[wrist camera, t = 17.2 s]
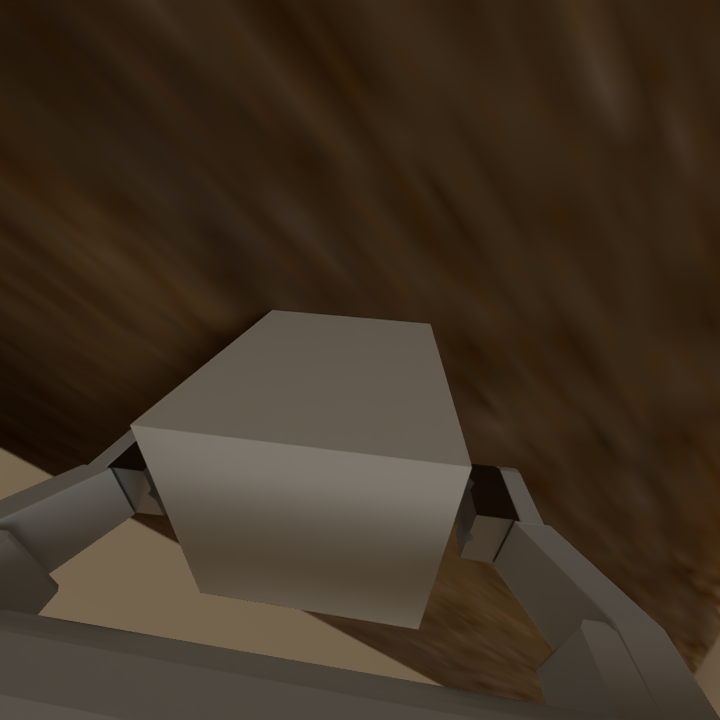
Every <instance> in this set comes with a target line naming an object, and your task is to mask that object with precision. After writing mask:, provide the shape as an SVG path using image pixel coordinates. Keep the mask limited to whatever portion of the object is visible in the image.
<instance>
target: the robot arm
mask: <svg viewBox="0 0 720 720" xmlns="http://www.w3.org/2000/svg"><path fill="white" fill-rule="evenodd" d="M471 466H472V469H471V472H470V475H469V478H468V481H467V484H466V487H465V490H464V493H463V496H462V499H461V502H460V505H459V508H458V511H457V514H456V517H455V520H456V521H457V523H458V526H457V529H456V532H455V533H456V539H457V544H458V549H459V555H460V558H465V559H471V560H477V561H482V562H488V563H494V564H493V566H494V567H495V569H496V570H497V572H498V573H499V574H500V576H501V577H502V579H503V580H504V582H505V583H506V584H507V586H508V587H509V589H510V590H511V592H512V593H513V594H514V596H515V597H516V599H517V600H518V601H519V603H520V604H521V606H522V607H523V609H524V610H525V611H526V613H527V614H528V616H529V617H530V619H531V620H532V621H533V623H534V624H535V626H536V627H537V628H538V630H539V631H540V633H541V634H542V636H543V637H544V638H545V640H546V641H547V643H548V644H549V646H550V647H551V648H552V650H553V652H552V653H551V654H550V655H549V656H548V657H547V658H546V660H545V661H544V662H543V663H542V664H541V665H540V666H539V668H538V670H537V671H536V672H537V675H538V679H539V682H540V686H541V689H542V693H543V696H544V699H545V703H546V705H545V704H539V703H533V702H528V701H522V700H516V699H511V698H505V697H499V696H494V695H488V694H482V693H477V692H471V691H465V690H460V689H454V688H448V687H443V686H436V685H431V684H426V683H419V682H414V681H409V680H403V679H397V678H391V677H386V676H380V675H374V674H369V673H363V672H357V671H352V670H346V669H340V668H335V667H329V666H323V665H318V664H312V663H306V662H301V661H295V660H289V659H284V658H278V657H272V656H267V655H261V654H255V653H250V652H244V651H238V650H233V649H227V648H221V647H215V646H210V645H204V644H198V643H193V642H187V641H182V640H176V639H170V638H164V637H159V636H153V635H148V634H141V633H136V632H131V631H124V630H119V629H114V628H107V627H102V626H97V625H91V624H85V623H80V622H74V621H68V620H62V619H57V618H51V617H45V616H39V615H38V614H39V613H40V611H41V610H42V609H43V608H44V607H45V606H46V604H47V603H48V602H49V601H50V600H51V599H52V597H53V596H54V595H55V594H56V593H57V592H58V584H57V583H56V582H55V581H54V580H53V579H52V577H51V576H50V575H49V573H51V572H52V571H53V570H55V569H57V568H58V567H59V566H61V565H62V564H64V563H65V562H67V561H68V560H69V559H71V558H72V557H74V556H75V555H76V554H78V553H80V552H81V551H82V550H84V549H85V548H87V547H88V546H89V545H91V544H92V543H94V542H95V541H96V540H98V539H100V538H101V537H102V536H104V535H105V534H107V533H108V532H110V531H111V530H113V529H114V528H115V527H117V526H118V525H120V524H121V523H122V522H124V521H125V520H127V519H128V518H130V517H131V516H133V515H134V514H135V513H134V512H137V513H146V514H155V515H164V514H165V512H166V510H165V507H164V505H163V502H162V500H161V498H160V495H159V493H158V491H157V488H156V486H155V483H154V481H153V479H152V476H151V474H150V471H149V469H148V467H147V464H146V462H145V460H144V457H143V455H142V452H141V450H140V448H139V445H138V443H137V441H136V438H135V436H134V433H133V431H132V429H131V430H129V431H128V432H127V433H126V434H125V435H123V436H122V437H121V438H120V439H119V440H117V441H116V442H115V443H114V444H113V445H111V446H110V447H109V448H108V449H107V450H105V451H104V452H103V453H102V454H101V455H99V456H98V457H97V458H96V459H95V460H93V461H92V462H91V463H90V464H89V465H81V466H78V467H76V468H74V469H72V470H69V471H67V472H65V473H62V474H60V475H58V476H55V477H53V478H51V479H49V480H46V481H44V482H42V483H39V484H37V485H35V486H32V487H30V488H28V489H25V490H23V491H21V492H18V493H16V494H14V495H12V496H9V497H7V498H5V499H3V500H0V720H720V718H719V716H718V715H717V713H716V711H715V710H714V708H713V707H712V705H711V704H710V702H709V700H708V699H707V697H706V696H705V694H704V693H703V691H702V689H701V688H700V686H699V685H698V683H697V681H696V680H695V678H694V677H693V675H692V673H691V672H690V670H689V669H688V667H687V665H686V664H685V662H684V661H683V659H682V658H681V656H680V654H679V653H678V651H677V650H676V648H675V646H674V645H673V643H672V642H671V640H670V638H669V637H668V635H667V634H666V632H665V631H664V629H663V628H661V627H660V626H659V625H658V624H657V623H656V622H655V621H654V620H653V619H652V618H650V617H649V616H648V615H647V614H646V613H645V612H644V611H643V610H642V609H641V608H640V607H638V606H637V605H636V604H635V603H634V602H633V601H632V600H631V599H630V598H629V597H627V596H626V595H625V594H624V593H623V592H622V591H621V590H620V589H619V588H618V587H617V586H615V585H614V584H613V583H612V582H611V581H610V580H609V579H608V578H607V577H606V576H604V575H603V574H602V573H601V572H600V571H599V570H598V569H597V568H596V567H595V566H593V565H592V564H591V563H590V562H589V561H588V560H587V559H586V558H585V557H584V556H583V555H581V554H580V553H579V552H578V551H577V550H576V549H575V548H574V547H573V546H572V545H570V544H569V543H568V542H567V541H566V540H565V539H564V538H563V537H562V536H561V535H560V534H558V533H557V532H556V531H555V530H554V529H553V528H552V527H551V526H547V525H544V524H543V522H542V520H541V518H540V515H539V513H538V511H537V509H536V507H535V505H534V503H533V501H532V499H531V496H530V494H529V492H528V490H527V488H526V486H525V484H524V482H523V479H522V477H521V475H520V473H519V471H518V470H516V469H515V468H505V467H495V466H488V465H479V464H471Z"/></svg>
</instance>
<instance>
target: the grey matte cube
mask: <svg viewBox="0 0 720 720" xmlns="http://www.w3.org/2000/svg"><path fill="white" fill-rule="evenodd" d="M130 426H131V429H132V431H133V433H134V436H135V438H136V441H137V443H138V445H139V448H140V450H141V452H142V455H143V457H144V460H145V462H146V464H147V467H148V469H149V471H150V474H151V476H152V479H153V481H154V483H155V486H156V488H157V491H158V493H159V495H160V498H161V500H162V502H163V505H164V507H165V510H166V512H167V514H168V517H169V519H170V522H171V524H172V526H173V529H174V531H175V533H176V536H177V538H178V541H179V543H180V545H181V548H182V550H183V553H184V555H185V557H186V560H187V562H188V564H189V567H190V569H191V571H192V574H193V576H194V578H195V581H196V584H197V586H198V588H199V591H200V593H206V594H212V595H217V596H224V597H229V598H236V599H241V600H247V601H253V602H259V603H265V604H271V605H277V606H283V607H289V608H295V609H301V610H307V611H312V612H318V613H324V614H330V615H336V616H342V617H348V618H354V619H360V620H366V621H372V622H378V623H384V624H390V625H396V626H402V627H408V628H413V629H418V628H419V625H420V622H421V619H422V616H423V613H424V610H425V607H426V604H427V601H428V598H429V595H430V592H431V589H432V586H433V583H434V580H435V577H436V574H437V571H438V568H439V565H440V562H441V559H442V556H443V553H444V550H445V547H446V544H447V541H448V538H449V535H450V532H451V529H452V526H453V523H454V520H455V517H456V514H457V511H458V508H459V505H460V502H461V499H462V496H463V493H464V490H465V487H466V484H467V481H468V478H469V475H470V472H471V469H472V466H471V462H470V459H469V455H468V452H467V449H466V445H465V442H464V438H463V435H462V431H461V428H460V425H459V421H458V418H457V414H456V411H455V407H454V404H453V401H452V397H451V394H450V390H449V387H448V383H447V380H446V377H445V373H444V370H443V366H442V363H441V359H440V356H439V353H438V349H437V346H436V342H435V339H434V335H433V332H432V329H431V325H430V324H426V323H414V322H403V321H392V320H380V319H369V318H357V317H346V316H334V315H323V314H312V313H300V312H289V311H277V310H272V311H271V312H269V313H268V314H267V315H266V316H264V317H263V318H262V319H261V320H260V321H258V322H257V323H256V324H255V325H253V326H252V327H251V328H250V329H248V330H247V331H246V332H245V333H243V334H242V335H241V336H240V337H238V338H237V339H236V340H235V341H233V342H232V343H231V344H230V345H229V346H227V347H226V348H225V349H224V350H222V351H221V352H220V353H219V354H217V355H216V356H215V357H214V358H212V359H211V360H210V361H209V362H207V363H206V364H205V365H204V366H202V367H201V368H200V369H199V370H197V371H196V372H195V373H194V374H193V375H191V376H190V377H189V378H188V379H186V380H185V381H184V382H183V383H181V384H180V385H179V386H178V387H176V388H175V389H174V390H173V391H171V392H170V393H169V394H168V395H166V396H165V397H164V398H163V399H162V400H160V401H159V402H158V403H157V404H155V405H154V406H153V407H152V408H150V409H149V410H148V411H147V412H145V413H144V414H143V415H142V416H140V417H139V418H138V419H137V420H135V421H134V422H133V423H132V424H131V425H130Z"/></svg>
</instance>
